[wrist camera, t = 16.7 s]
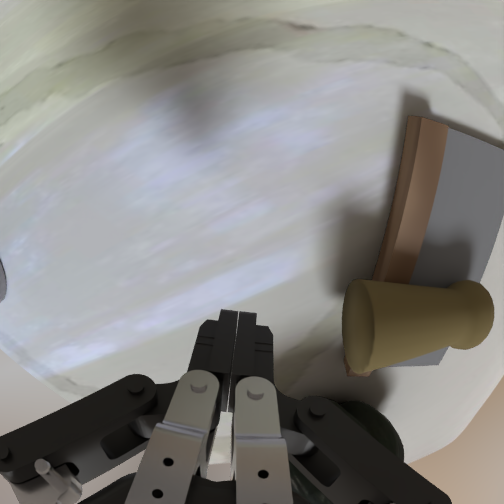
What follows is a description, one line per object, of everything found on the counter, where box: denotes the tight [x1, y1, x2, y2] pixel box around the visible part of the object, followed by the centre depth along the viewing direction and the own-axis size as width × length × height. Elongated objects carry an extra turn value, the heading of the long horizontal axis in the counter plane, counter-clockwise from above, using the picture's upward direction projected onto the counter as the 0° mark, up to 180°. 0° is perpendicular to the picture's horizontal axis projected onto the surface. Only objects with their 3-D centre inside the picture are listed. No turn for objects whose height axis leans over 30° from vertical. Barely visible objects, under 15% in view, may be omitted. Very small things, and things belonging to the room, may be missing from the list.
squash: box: [288, 399, 404, 504], centre depth 24 cm, size 14×15×15 cm
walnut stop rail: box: [344, 116, 449, 376], centre depth 20 cm, size 2×20×2 cm, turn 175°
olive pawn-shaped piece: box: [342, 279, 494, 374], centre depth 18 cm, size 6×6×11 cm
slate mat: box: [387, 128, 504, 367], centre depth 20 cm, size 8×20×1 cm, turn 174°
